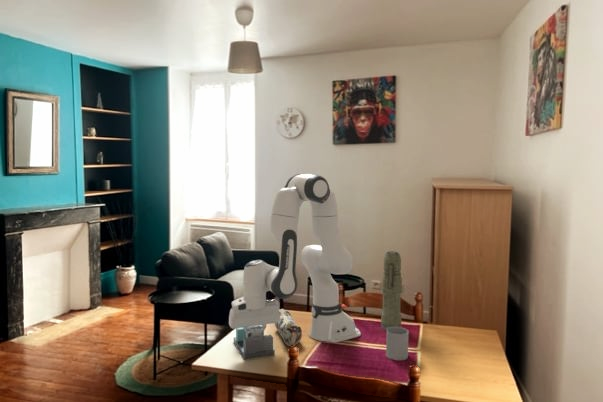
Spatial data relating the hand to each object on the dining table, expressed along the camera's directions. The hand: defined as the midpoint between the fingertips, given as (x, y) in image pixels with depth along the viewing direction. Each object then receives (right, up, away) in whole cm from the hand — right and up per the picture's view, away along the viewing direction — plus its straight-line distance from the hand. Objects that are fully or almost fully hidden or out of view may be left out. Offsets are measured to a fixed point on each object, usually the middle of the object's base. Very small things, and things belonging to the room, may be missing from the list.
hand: (254, 335), depth 174 cm
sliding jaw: (-3, -3, +7) cm, 8 cm away
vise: (-1, -6, +3) cm, 7 cm away
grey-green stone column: (+59, -5, +25) cm, 64 cm away
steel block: (0, -2, 0) cm, 2 cm away
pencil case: (+12, -5, +15) cm, 20 cm away
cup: (+56, -7, -3) cm, 56 cm away
